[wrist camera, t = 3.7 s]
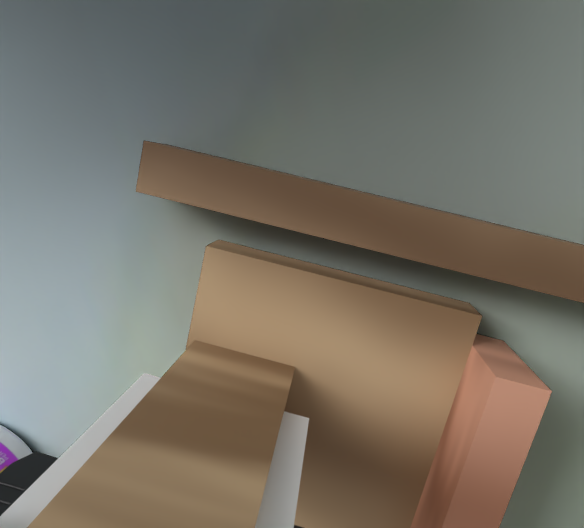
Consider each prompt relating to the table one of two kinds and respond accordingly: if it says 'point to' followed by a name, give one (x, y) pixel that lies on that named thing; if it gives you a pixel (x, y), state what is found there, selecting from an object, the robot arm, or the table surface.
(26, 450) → the supplement bottle
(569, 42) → the table surface
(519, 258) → the track rails
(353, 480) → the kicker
